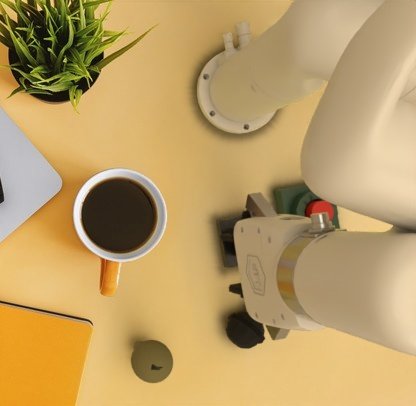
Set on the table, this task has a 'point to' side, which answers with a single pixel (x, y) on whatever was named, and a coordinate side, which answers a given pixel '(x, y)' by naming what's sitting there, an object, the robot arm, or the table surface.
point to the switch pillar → (228, 247)
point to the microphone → (244, 330)
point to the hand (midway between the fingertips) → (237, 260)
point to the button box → (299, 202)
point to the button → (319, 208)
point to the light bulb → (151, 361)
